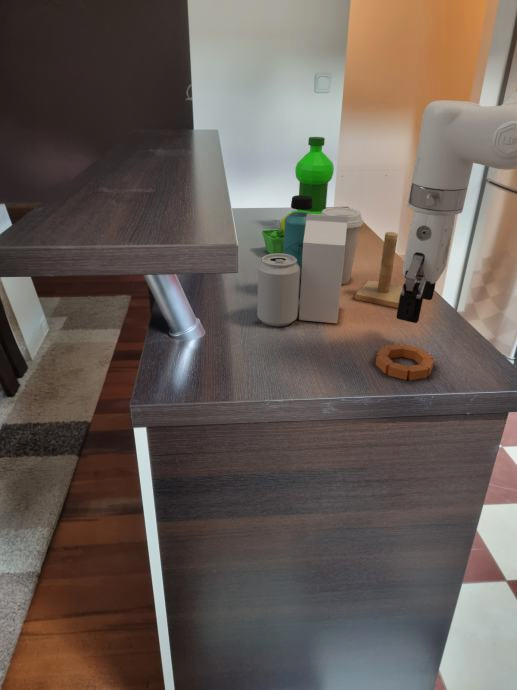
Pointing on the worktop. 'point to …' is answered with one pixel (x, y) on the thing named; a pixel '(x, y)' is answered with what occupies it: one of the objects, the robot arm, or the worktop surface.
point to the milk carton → (322, 267)
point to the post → (383, 278)
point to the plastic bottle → (315, 175)
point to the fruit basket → (275, 238)
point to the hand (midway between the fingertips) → (414, 308)
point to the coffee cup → (348, 236)
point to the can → (278, 289)
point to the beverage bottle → (296, 229)
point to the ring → (402, 370)
